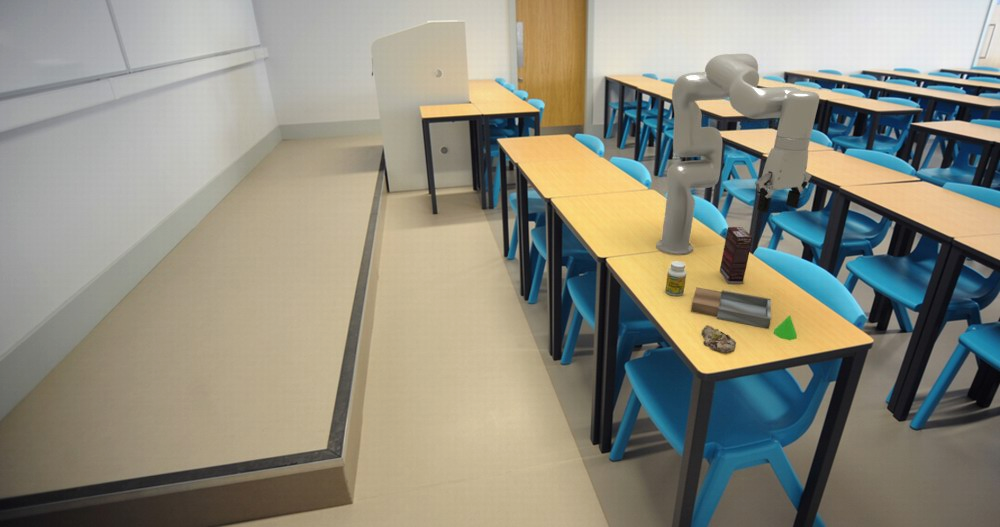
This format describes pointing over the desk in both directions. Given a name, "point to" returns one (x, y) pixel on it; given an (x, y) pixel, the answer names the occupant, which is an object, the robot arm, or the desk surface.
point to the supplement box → (735, 255)
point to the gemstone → (786, 330)
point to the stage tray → (733, 307)
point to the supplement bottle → (676, 279)
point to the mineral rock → (717, 340)
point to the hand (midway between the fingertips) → (777, 208)
